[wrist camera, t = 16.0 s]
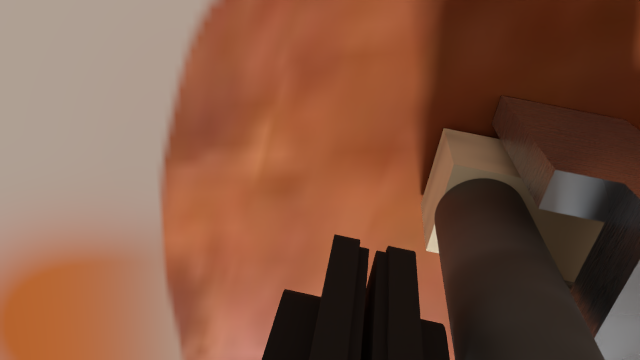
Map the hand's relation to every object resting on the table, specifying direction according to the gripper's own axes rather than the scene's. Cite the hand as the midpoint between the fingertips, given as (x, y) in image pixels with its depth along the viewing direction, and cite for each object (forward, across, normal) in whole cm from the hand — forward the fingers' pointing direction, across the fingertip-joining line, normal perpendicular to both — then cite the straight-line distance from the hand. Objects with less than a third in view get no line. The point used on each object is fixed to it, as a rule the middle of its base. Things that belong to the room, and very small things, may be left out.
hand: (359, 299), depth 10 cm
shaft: (+8, -6, 0) cm, 10 cm away
